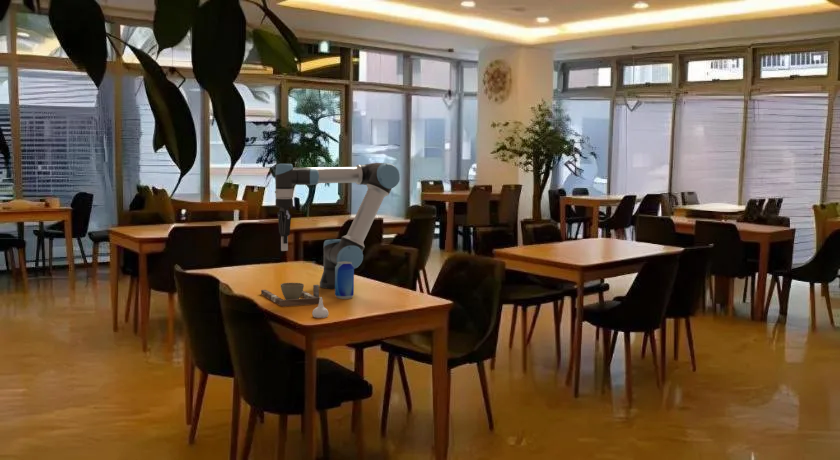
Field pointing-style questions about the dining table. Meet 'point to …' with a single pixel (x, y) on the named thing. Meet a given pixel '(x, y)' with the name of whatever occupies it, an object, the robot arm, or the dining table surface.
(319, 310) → the garlic bulb
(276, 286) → the dining table surface
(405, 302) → the dining table surface
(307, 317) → the dining table surface
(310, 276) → the dining table surface
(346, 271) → the beer can
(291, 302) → the rail channel
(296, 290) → the flower pot
